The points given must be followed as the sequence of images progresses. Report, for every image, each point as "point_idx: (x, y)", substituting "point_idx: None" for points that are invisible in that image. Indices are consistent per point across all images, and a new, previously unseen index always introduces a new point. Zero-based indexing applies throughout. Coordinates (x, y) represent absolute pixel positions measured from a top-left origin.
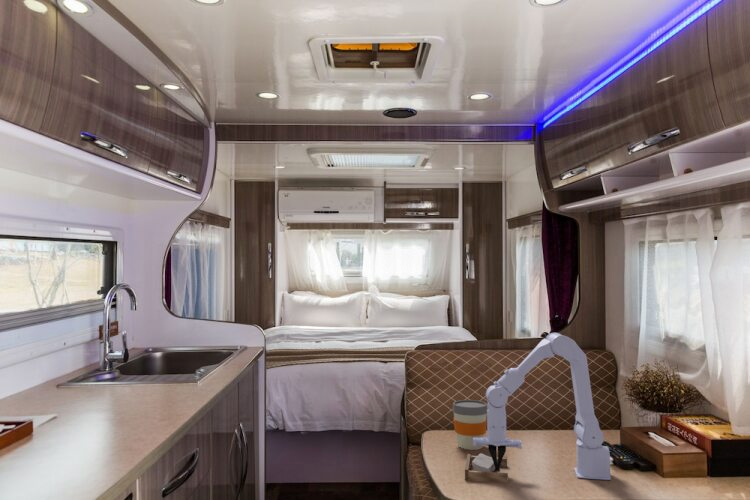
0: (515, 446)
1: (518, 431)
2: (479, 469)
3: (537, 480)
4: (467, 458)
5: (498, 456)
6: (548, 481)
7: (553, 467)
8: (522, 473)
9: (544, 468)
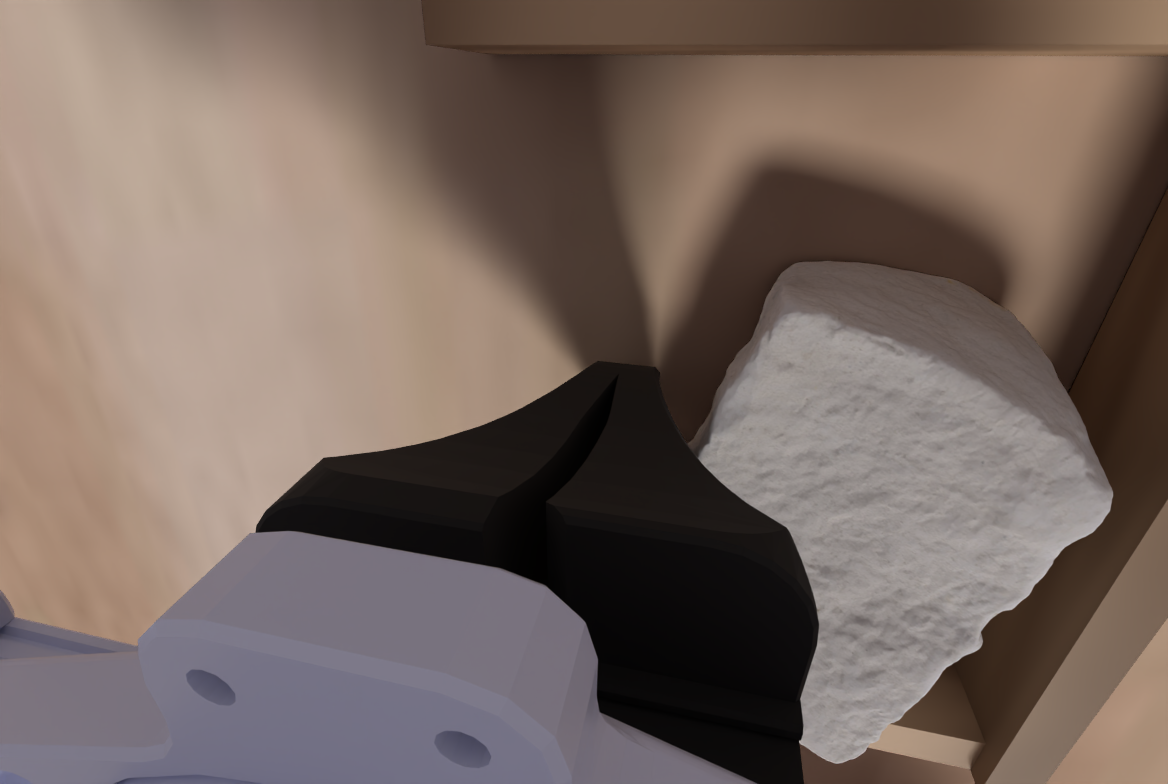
0: (31, 647)
1: None
2: (946, 332)
3: (154, 199)
4: (1118, 662)
5: (541, 447)
6: (45, 186)
7: (144, 553)
8: (349, 406)
9: (198, 534)
